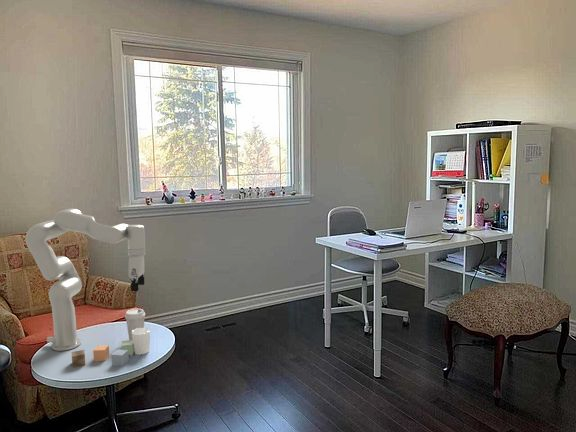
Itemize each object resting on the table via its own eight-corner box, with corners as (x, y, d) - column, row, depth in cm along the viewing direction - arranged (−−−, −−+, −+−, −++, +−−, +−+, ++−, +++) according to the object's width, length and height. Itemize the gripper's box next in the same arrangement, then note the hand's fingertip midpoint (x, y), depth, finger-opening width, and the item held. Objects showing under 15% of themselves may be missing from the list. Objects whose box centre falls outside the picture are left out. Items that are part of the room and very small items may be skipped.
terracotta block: (93, 361, 199) (93, 350, 199) (98, 355, 204) (97, 345, 203) (105, 360, 199) (104, 350, 199) (109, 355, 204) (108, 345, 204)
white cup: (135, 348, 212) (133, 328, 210) (152, 347, 212) (151, 327, 211) (130, 355, 204) (129, 334, 202) (148, 355, 205) (147, 334, 203)
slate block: (112, 365, 195) (111, 354, 194) (118, 360, 200) (117, 349, 199) (122, 366, 194) (122, 355, 194) (128, 360, 199) (127, 350, 198)
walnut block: (72, 367, 193) (71, 356, 193) (72, 362, 198) (71, 351, 197) (85, 365, 196) (84, 354, 195) (84, 360, 200) (84, 349, 199)
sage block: (121, 356, 204) (120, 345, 203) (122, 351, 209) (121, 341, 208) (133, 354, 205) (132, 344, 204) (133, 350, 210) (133, 339, 209)
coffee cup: (140, 345, 214) (138, 315, 212) (122, 344, 216) (120, 314, 214) (150, 337, 223) (148, 308, 221) (132, 336, 225) (131, 307, 223)
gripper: (134, 247, 216) (135, 282, 218) (122, 256, 199) (123, 293, 201) (149, 247, 216) (150, 282, 218) (139, 256, 199) (140, 293, 201)
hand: (137, 287), depth 210 cm, fingers open, 9 cm apart
